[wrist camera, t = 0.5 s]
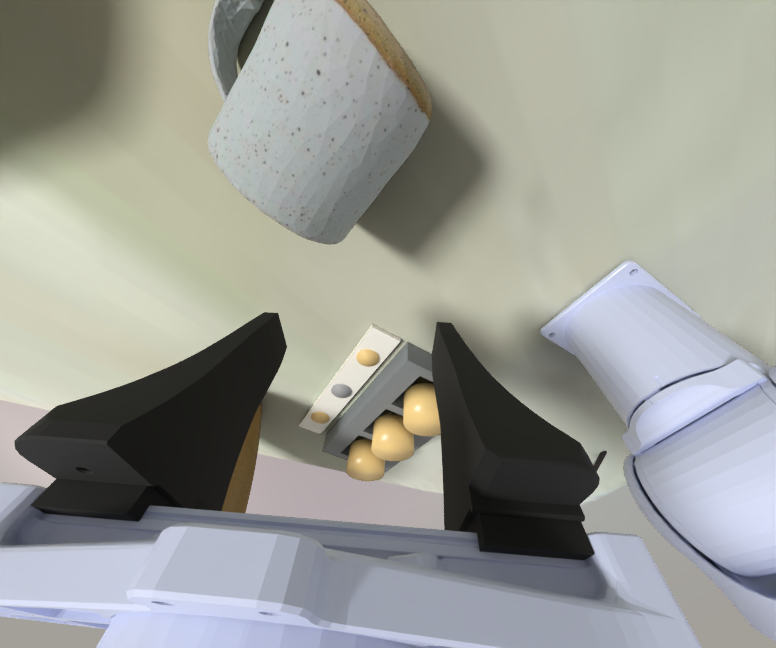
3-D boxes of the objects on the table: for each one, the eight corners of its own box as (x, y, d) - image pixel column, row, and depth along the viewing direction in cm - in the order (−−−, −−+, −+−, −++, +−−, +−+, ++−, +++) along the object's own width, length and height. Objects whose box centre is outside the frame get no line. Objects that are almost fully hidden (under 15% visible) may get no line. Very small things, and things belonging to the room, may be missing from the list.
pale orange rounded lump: (392, 446, 33) (391, 470, 31) (374, 461, 35) (372, 484, 33) (360, 434, 32) (356, 458, 29) (343, 450, 34) (339, 473, 32)
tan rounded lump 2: (457, 394, 26) (462, 419, 24) (430, 416, 29) (432, 441, 26) (420, 376, 25) (421, 401, 23) (395, 401, 27) (394, 425, 25)
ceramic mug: (438, 113, 15) (457, 105, 9) (352, 223, 19) (323, 270, 13) (268, -93, 12) (105, -344, 5) (204, 95, 16) (67, 75, 9)
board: (480, 379, 28) (486, 398, 26) (385, 455, 38) (384, 472, 36) (372, 324, 24) (369, 341, 23) (299, 423, 35) (293, 441, 33)
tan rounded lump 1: (421, 423, 30) (422, 448, 27) (399, 441, 32) (399, 465, 30) (387, 408, 28) (385, 433, 26) (366, 428, 31) (363, 452, 28)
